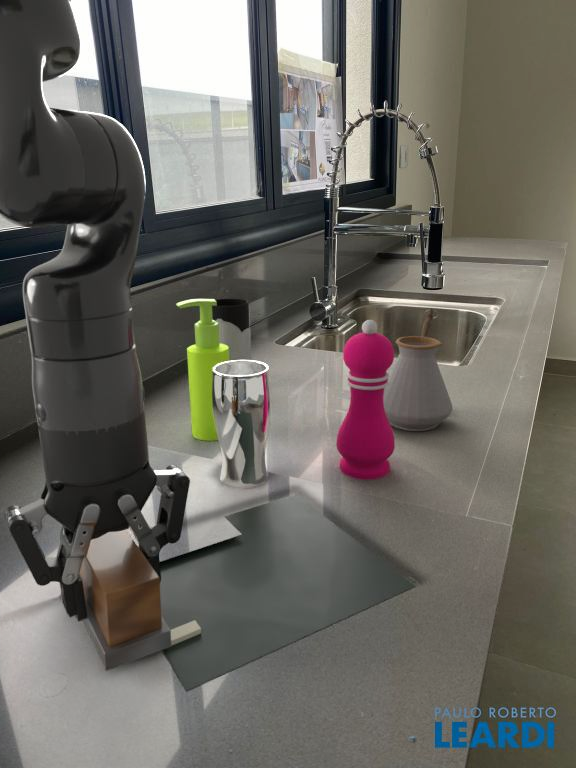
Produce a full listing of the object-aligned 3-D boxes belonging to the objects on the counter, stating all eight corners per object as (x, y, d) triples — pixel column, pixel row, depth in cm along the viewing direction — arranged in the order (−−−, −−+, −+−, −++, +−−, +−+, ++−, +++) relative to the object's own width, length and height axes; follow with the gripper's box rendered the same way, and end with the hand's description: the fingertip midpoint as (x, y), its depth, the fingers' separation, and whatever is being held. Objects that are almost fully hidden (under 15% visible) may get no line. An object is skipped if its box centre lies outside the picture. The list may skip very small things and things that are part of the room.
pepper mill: (396, 465, 79) (404, 315, 73) (389, 491, 72) (397, 328, 66) (341, 459, 81) (344, 312, 75) (330, 484, 74) (332, 325, 68)
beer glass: (207, 494, 72) (201, 374, 67) (227, 468, 78) (222, 357, 74) (263, 501, 70) (261, 378, 66) (278, 474, 77) (277, 361, 72)
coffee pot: (446, 440, 86) (455, 338, 82) (368, 430, 90) (371, 332, 85) (459, 394, 105) (467, 309, 101) (394, 387, 109) (398, 305, 104)
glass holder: (199, 386, 110) (194, 305, 106) (230, 365, 123) (227, 292, 118) (243, 391, 108) (241, 308, 103) (270, 369, 120) (269, 294, 116)
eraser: (106, 671, 44) (100, 600, 42) (67, 585, 53) (61, 524, 52) (171, 646, 46) (168, 578, 44) (122, 568, 56) (119, 510, 54)
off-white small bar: (166, 648, 47) (165, 643, 47) (160, 639, 48) (160, 633, 48) (201, 633, 48) (201, 628, 48) (195, 624, 49) (195, 619, 49)
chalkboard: (186, 702, 43) (186, 691, 43) (106, 561, 59) (105, 553, 59) (415, 595, 54) (416, 586, 54) (295, 501, 70) (295, 493, 70)
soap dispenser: (182, 428, 91) (173, 297, 85) (227, 423, 93) (222, 294, 87) (188, 444, 86) (179, 305, 80) (235, 438, 88) (230, 301, 82)
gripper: (166, 377, 51) (178, 552, 56) (-24, 411, 43) (12, 607, 49) (203, 404, 45) (213, 596, 50) (-10, 447, 37) (29, 667, 43)
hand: (114, 601), depth 49 cm, fingers closed on eraser, 5 cm apart
